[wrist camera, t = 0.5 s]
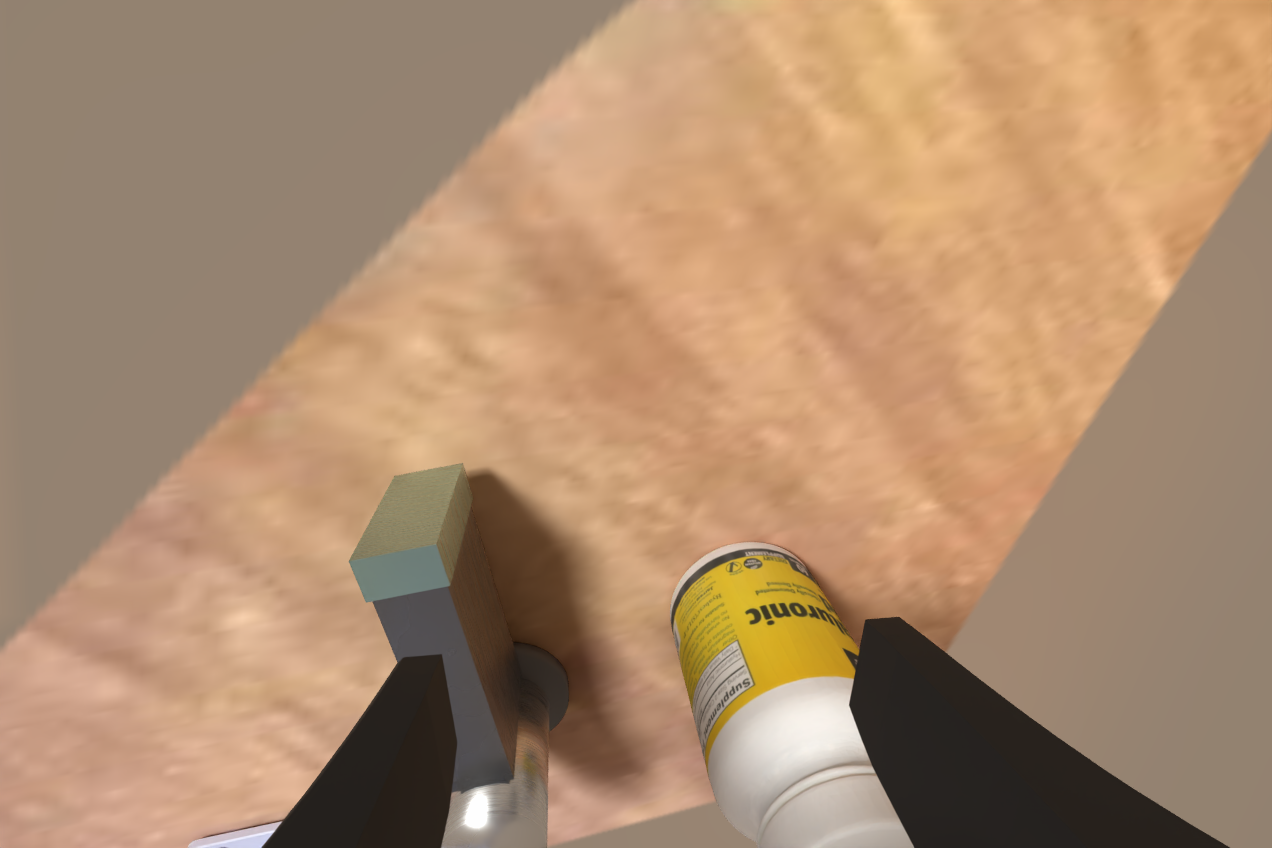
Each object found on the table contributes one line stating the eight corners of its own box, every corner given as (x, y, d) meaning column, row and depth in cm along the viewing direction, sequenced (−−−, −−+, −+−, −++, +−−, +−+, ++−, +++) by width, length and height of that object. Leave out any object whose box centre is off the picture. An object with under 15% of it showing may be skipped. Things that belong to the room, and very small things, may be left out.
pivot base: (465, 742, 23) (463, 755, 23) (433, 656, 21) (429, 669, 21) (578, 718, 23) (578, 731, 23) (555, 631, 22) (555, 643, 21)
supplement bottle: (839, 567, 22) (1032, 839, 13) (758, 672, 24) (881, 979, 15) (717, 512, 21) (841, 777, 12) (639, 628, 22) (695, 941, 13)
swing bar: (556, 729, 22) (556, 874, 18) (476, 746, 22) (454, 896, 18) (479, 460, 18) (452, 560, 13) (377, 479, 18) (313, 587, 13)
